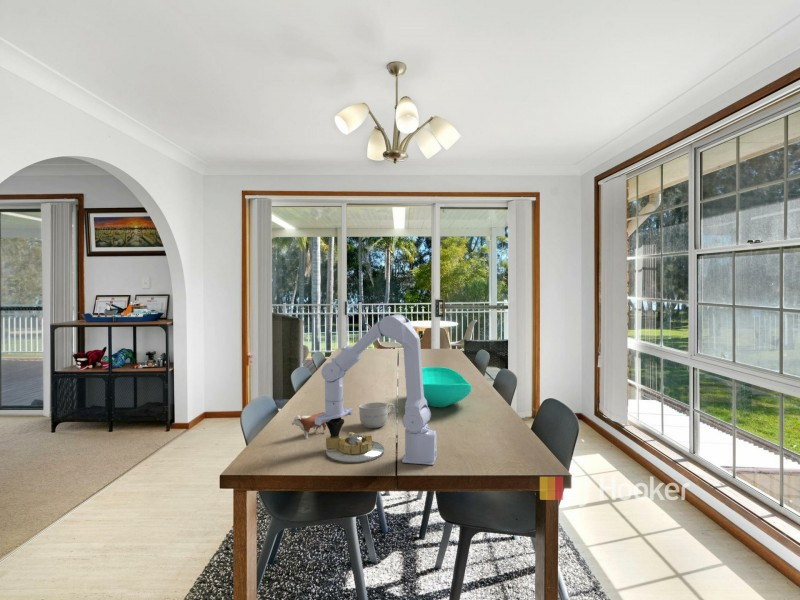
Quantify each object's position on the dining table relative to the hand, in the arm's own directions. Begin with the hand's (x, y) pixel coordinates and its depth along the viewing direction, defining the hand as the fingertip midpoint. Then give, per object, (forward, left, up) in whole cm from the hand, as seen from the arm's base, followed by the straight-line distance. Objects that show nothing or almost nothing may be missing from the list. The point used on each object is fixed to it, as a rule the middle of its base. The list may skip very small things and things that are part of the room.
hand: (334, 441), depth 147 cm
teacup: (-7, -27, -3) cm, 28 cm away
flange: (-7, +1, -2) cm, 8 cm away
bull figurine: (+13, -11, -3) cm, 17 cm away
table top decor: (-26, -60, -3) cm, 65 cm away
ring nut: (-5, +1, -1) cm, 6 cm away
